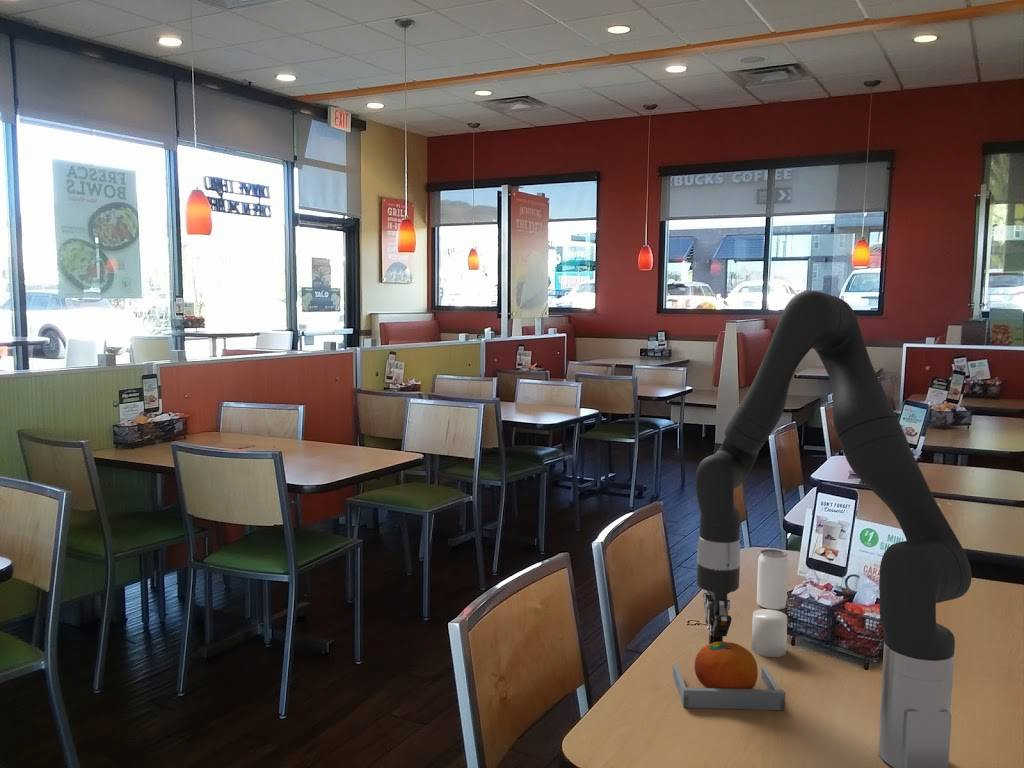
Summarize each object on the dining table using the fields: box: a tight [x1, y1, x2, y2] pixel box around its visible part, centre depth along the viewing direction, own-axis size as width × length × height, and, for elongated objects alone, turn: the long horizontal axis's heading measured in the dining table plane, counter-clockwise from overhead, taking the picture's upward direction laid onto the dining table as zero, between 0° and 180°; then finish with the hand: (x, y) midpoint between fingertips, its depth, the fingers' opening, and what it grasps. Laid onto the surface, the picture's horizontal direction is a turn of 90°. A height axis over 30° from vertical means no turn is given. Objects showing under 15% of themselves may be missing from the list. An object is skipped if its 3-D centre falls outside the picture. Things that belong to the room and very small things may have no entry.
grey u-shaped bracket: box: [672, 664, 786, 711], centre depth 143 cm, size 12×17×3 cm
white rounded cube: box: [751, 608, 788, 658], centre depth 160 cm, size 6×6×7 cm
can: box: [756, 548, 790, 611], centre depth 183 cm, size 6×6×12 cm
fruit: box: [693, 641, 759, 689], centre depth 143 cm, size 11×10×8 cm
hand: (715, 653), depth 151 cm, fingers closed
